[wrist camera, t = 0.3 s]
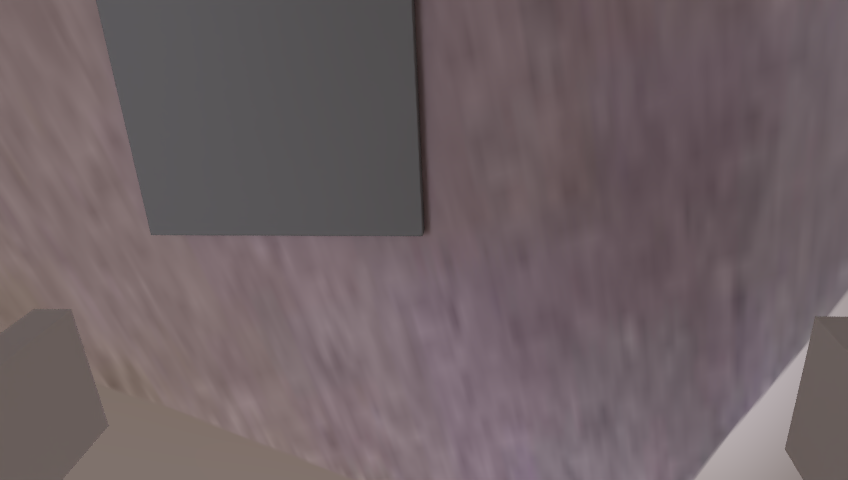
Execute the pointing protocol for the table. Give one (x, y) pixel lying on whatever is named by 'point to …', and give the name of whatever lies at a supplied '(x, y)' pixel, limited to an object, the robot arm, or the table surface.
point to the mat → (271, 114)
